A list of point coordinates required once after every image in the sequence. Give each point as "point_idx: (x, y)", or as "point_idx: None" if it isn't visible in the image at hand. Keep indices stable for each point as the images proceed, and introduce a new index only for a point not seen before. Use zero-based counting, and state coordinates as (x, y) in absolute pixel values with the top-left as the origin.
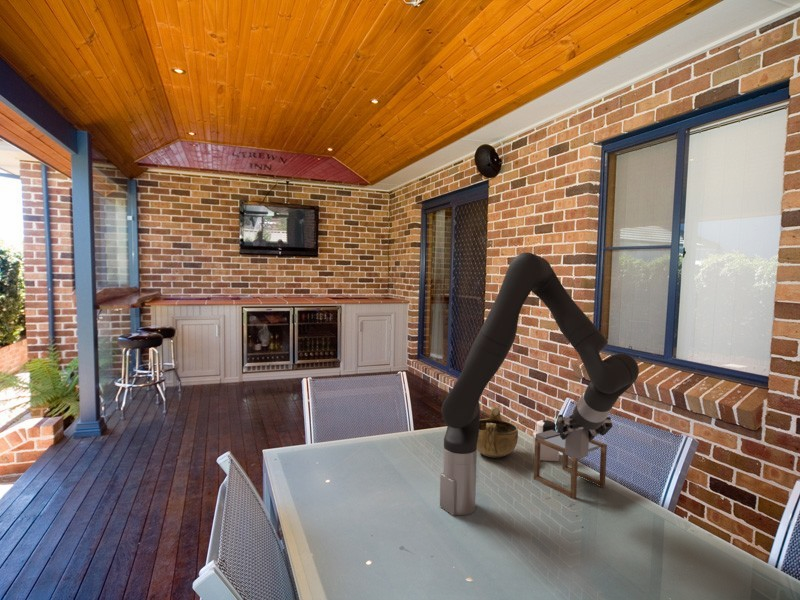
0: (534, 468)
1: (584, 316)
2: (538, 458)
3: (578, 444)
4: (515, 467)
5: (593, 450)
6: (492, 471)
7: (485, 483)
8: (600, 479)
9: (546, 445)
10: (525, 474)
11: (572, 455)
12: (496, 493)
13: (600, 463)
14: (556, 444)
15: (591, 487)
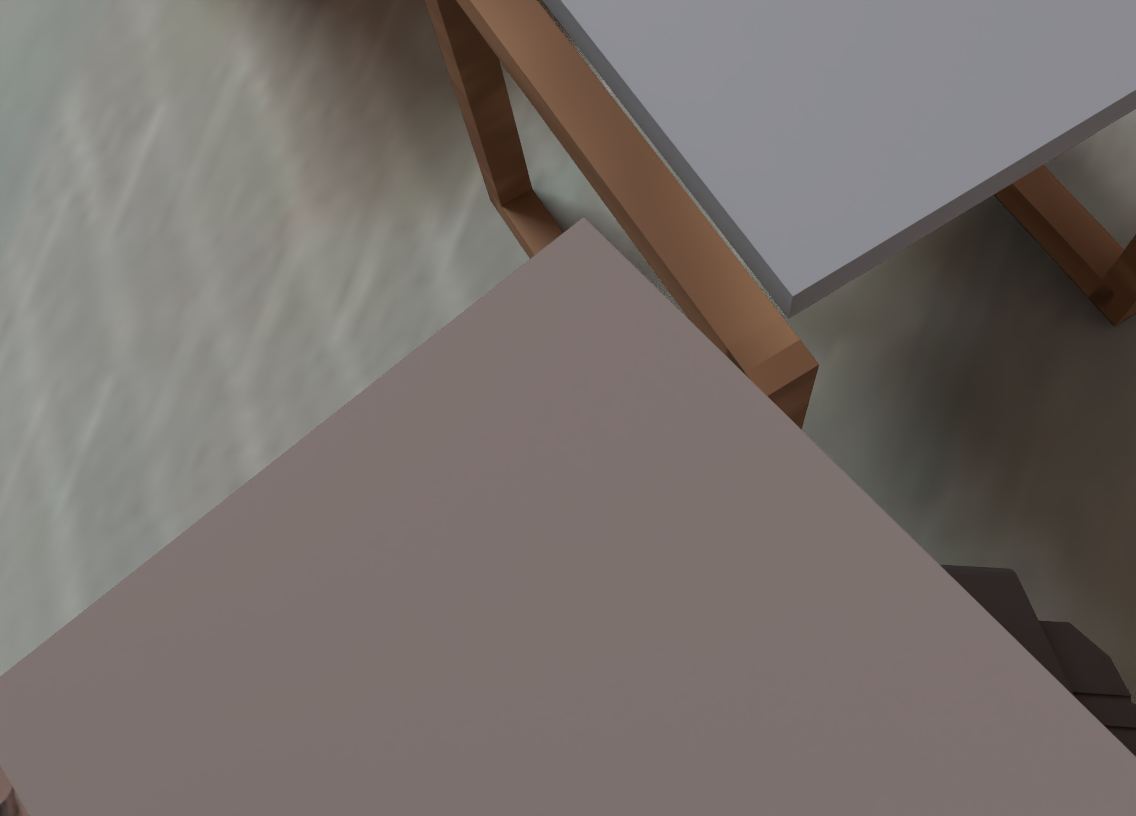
0: (472, 145)
1: None
2: (482, 87)
3: None
4: (402, 10)
5: None
6: (174, 96)
7: (30, 309)
8: (1122, 270)
9: (491, 45)
10: (445, 125)
11: None
12: (52, 483)
13: None
14: (630, 25)
15: (999, 324)
